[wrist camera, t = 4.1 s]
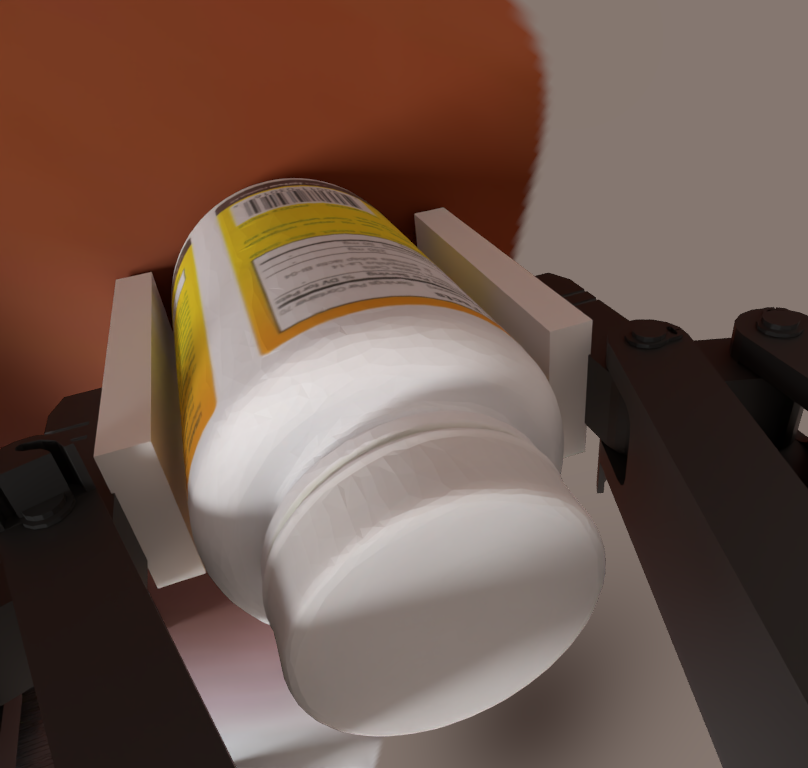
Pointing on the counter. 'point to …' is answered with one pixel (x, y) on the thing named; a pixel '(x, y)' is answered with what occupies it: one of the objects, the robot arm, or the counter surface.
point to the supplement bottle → (372, 464)
